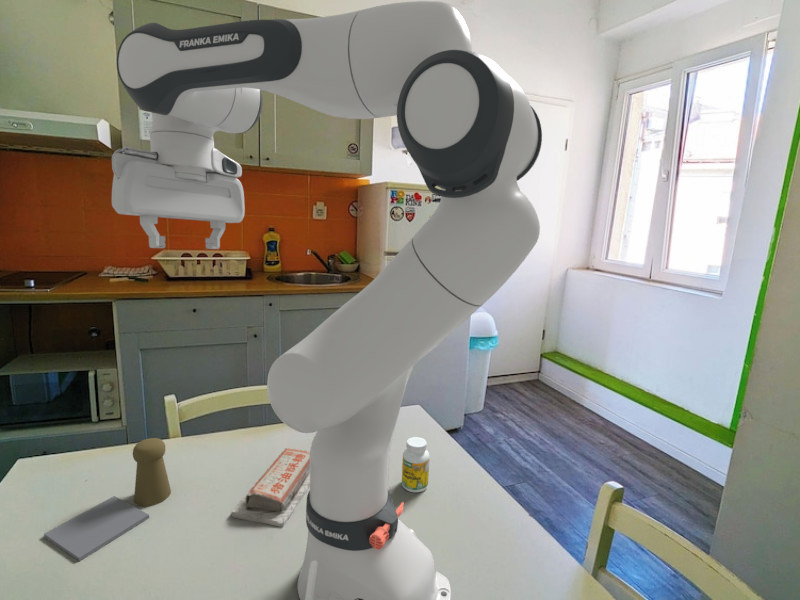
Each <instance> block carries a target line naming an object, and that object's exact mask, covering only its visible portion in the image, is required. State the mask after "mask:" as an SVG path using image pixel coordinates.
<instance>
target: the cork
mask: <svg viewBox="0 0 800 600" xmlns="http://www.w3.org/2000/svg"><path fill="white" fill-rule="evenodd" d="M165 453H166V443H165V442H164V441H163V440H162V439H161V438H157V437H151V438H146V439H143V440H140V441H139V442H137V443H136V444H135V446H134V447H133V449H132V458H133V460H134V461H135V462H136V469H135V470H136V473H135V482H134V483H135V485H134V498H133V502H134V504H135V505H136V506H138V507H145V508H146V507H151V506H156V505H158V504H160V503H162V502H164V501H165V500H167V499H168V498H169V497H170V495H171V493H172V489H171V486H170V482H169V477H168V473H167V469H166V465H165V460H164V455H166V454H165Z"/></svg>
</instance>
